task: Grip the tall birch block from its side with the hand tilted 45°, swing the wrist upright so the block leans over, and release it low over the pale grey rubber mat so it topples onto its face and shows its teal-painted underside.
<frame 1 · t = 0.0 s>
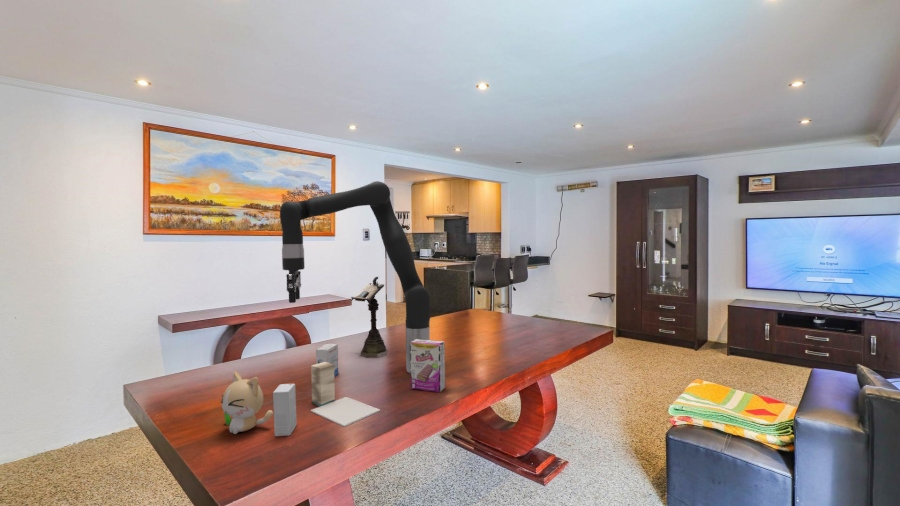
hand: (294, 300, 151), 29 cm above the table, fingers open, 8 cm apart
birch block: (323, 402, 131), on the table
kitten: (242, 429, 114), on the table
candy bar box: (427, 389, 142), on the table
book lectern: (371, 355, 182), on the table
ink box: (327, 377, 155), on the table
skincare box: (285, 431, 112), on the table
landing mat: (345, 411, 124), on the table
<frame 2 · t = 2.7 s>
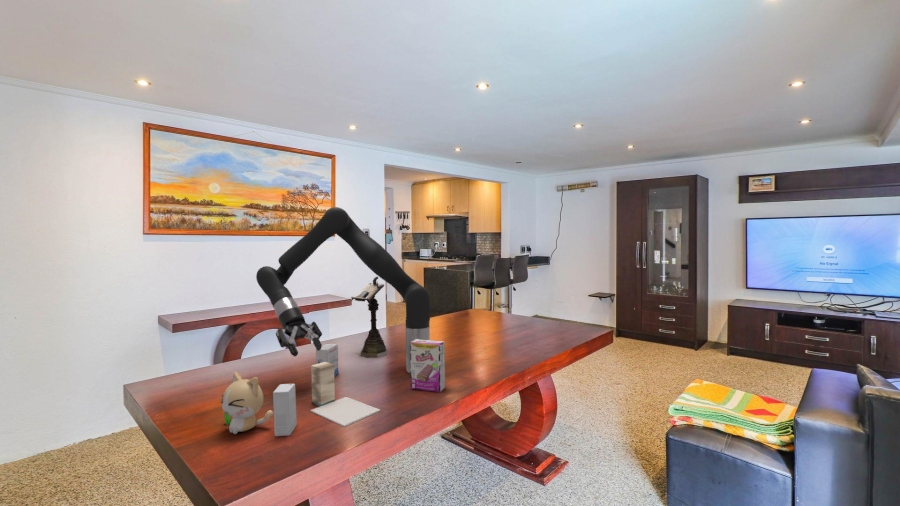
hand: (308, 352, 136), 15 cm above the table, fingers open, 8 cm apart
nothing on the table moved.
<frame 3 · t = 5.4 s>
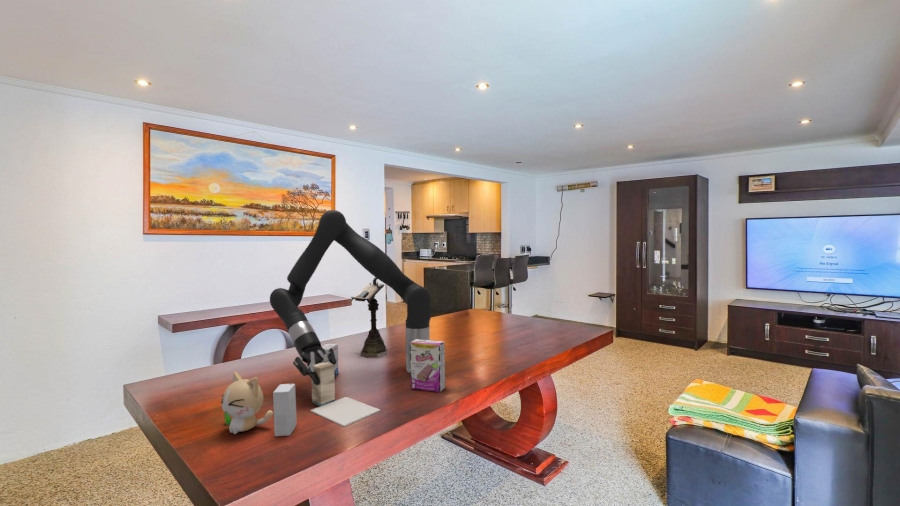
hand: (326, 381, 130), 7 cm above the table, fingers closed on birch block, 5 cm apart
birch block: (323, 402, 131), on the table, touching gripper
everything else where it was.
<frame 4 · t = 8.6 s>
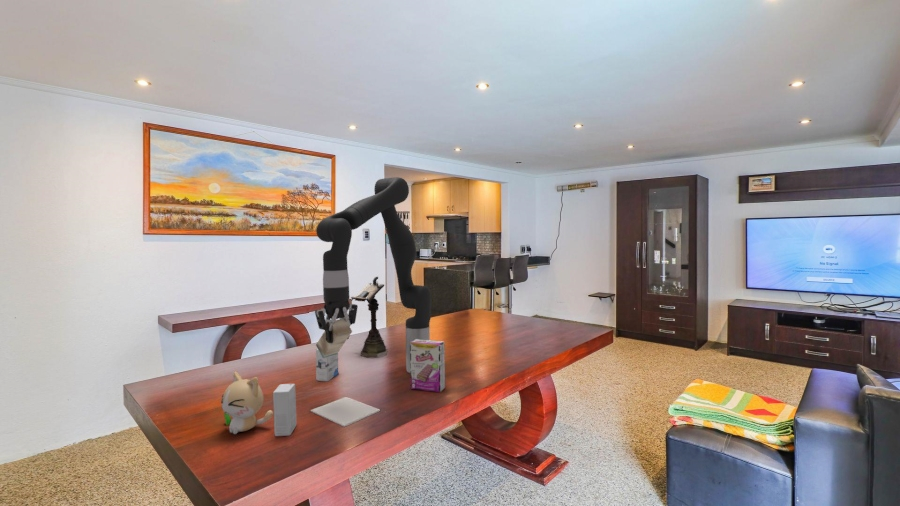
hand: (338, 340, 125), 21 cm above the table, fingers closed on birch block, 5 cm apart
birch block: (326, 349, 129), point 17 cm above the table, tilted 45°, touching gripper
everything else where it was.
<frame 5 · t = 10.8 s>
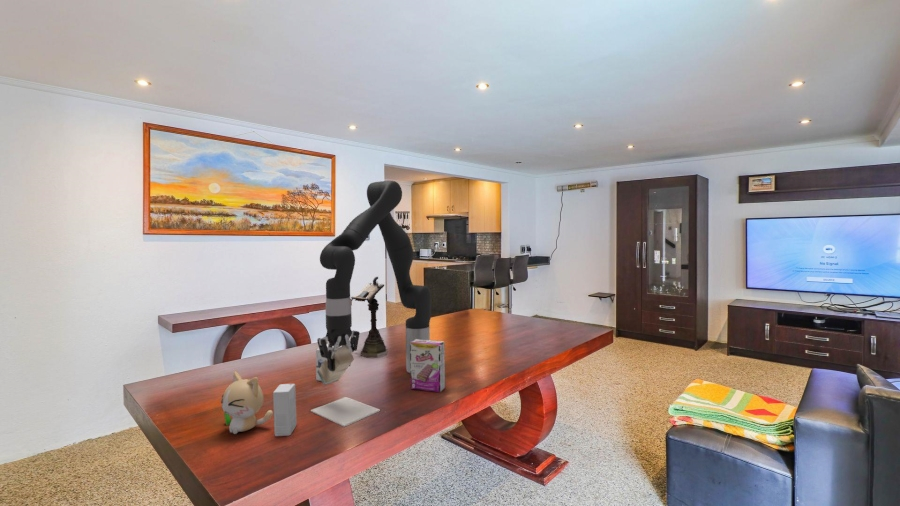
hand: (339, 368, 125), 13 cm above the table, fingers closed on birch block, 5 cm apart
birch block: (327, 376, 129), point 9 cm above the table, tilted 45°, touching gripper
everything else where it was.
when the fingers open (7 cm above the table, at t = 12.3 s): birch block moves 2 cm and tips over, resting on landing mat.
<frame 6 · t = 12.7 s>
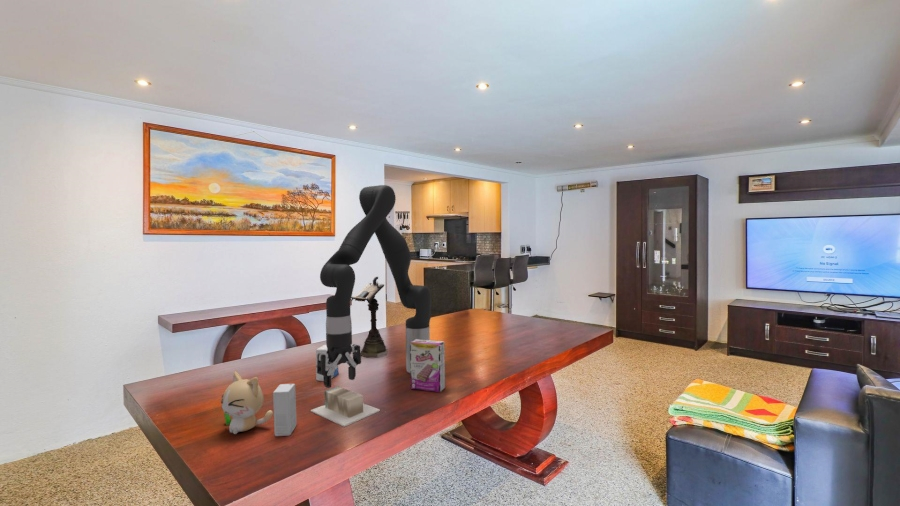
hand: (340, 383, 125), 8 cm above the table, fingers open, 8 cm apart
birch block: (332, 396, 128), point 3 cm above the table, tilted 90°, touching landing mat
everything else where it was.
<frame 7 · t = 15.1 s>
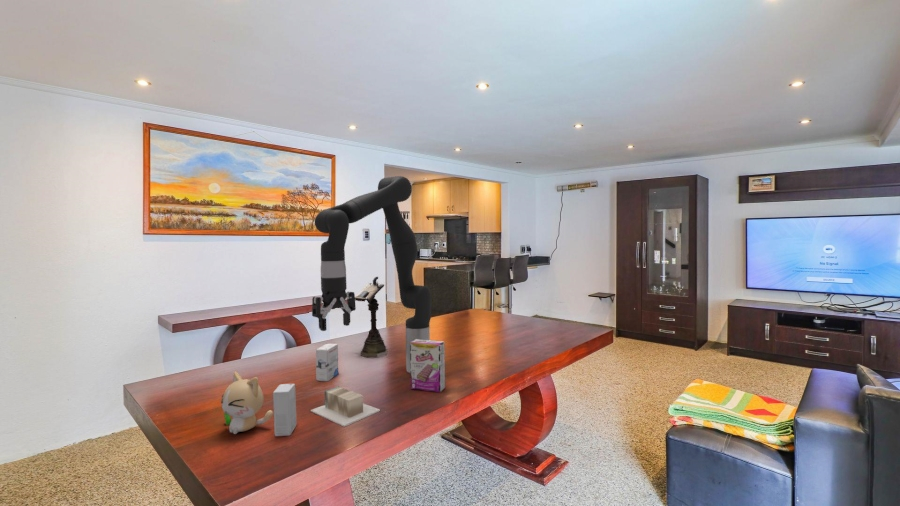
hand: (335, 327, 127), 24 cm above the table, fingers open, 8 cm apart
nothing on the table moved.
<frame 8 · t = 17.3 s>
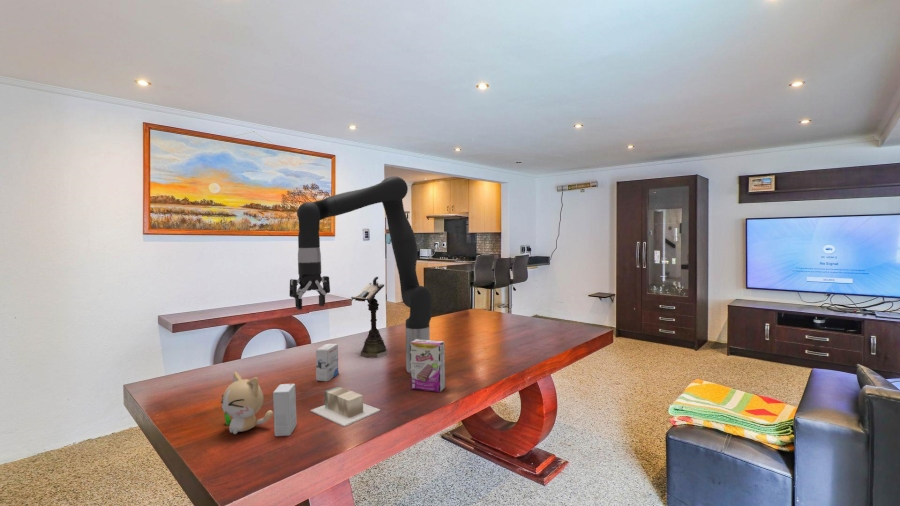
hand: (310, 307, 143), 28 cm above the table, fingers open, 8 cm apart
nothing on the table moved.
at the end: birch block tilted 90°; birch block touching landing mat; the gripper is holding nothing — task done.
